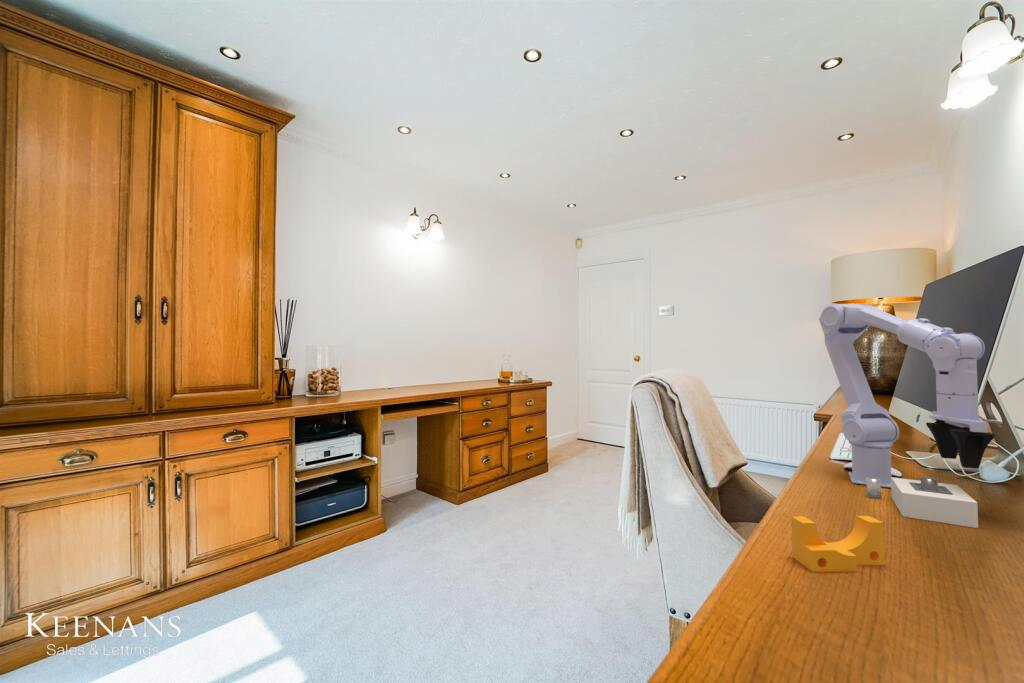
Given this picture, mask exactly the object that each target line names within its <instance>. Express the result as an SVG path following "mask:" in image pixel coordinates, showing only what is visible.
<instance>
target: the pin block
mask: <svg viewBox="0 0 1024 683" xmlns="http://www.w3.org/2000/svg"><path fill="white" fill-rule="evenodd" d="M890 489H891V490H890V491H891V499H892V501H893V503H894V504H895V506H896V507H897V509H898V511H899V512H900V514H901V516H902V517H904V518H911V519H916V520H917V519H918V520H923V521H929V522H935V523H942V524H948V525H953V526H955V525H956V526H962V527H968V528H974V529H979V509H978V502H977V501H976V500H975V499H974V498H973V497H971V496H970V495H969V494H968V493H967V492H965V490H963V489H962V488H961V487H960V486H958V485H957V484H951V483H943V482H938V491H932V490H924V489H921V480H918V479H917V480H916V479H909V478H901V477H893V476H891V488H890Z"/></svg>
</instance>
